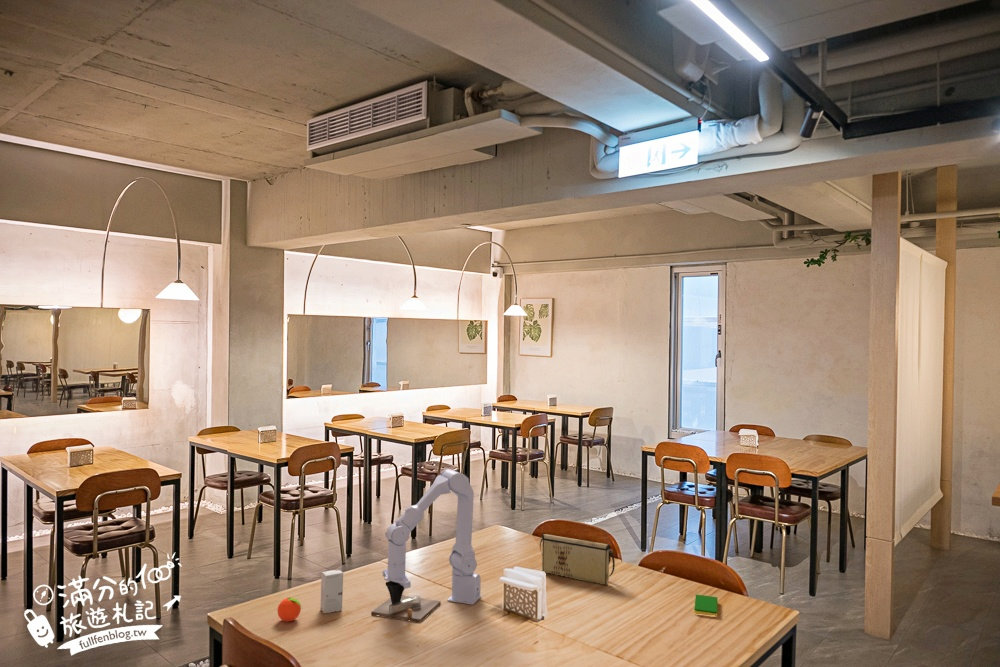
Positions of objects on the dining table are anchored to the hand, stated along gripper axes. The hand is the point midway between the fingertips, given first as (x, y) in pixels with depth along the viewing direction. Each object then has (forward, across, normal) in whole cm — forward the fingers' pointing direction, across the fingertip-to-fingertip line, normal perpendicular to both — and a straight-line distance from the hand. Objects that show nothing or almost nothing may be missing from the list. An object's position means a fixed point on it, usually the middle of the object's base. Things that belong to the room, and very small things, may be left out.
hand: (395, 604), depth 215 cm
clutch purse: (+3, +12, +71) cm, 72 cm away
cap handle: (+1, +3, +2) cm, 3 cm away
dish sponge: (+3, +59, +84) cm, 103 cm away
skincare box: (+2, -13, -16) cm, 21 cm away
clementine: (+2, -13, -30) cm, 33 cm away
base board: (+2, +1, +4) cm, 4 cm away
